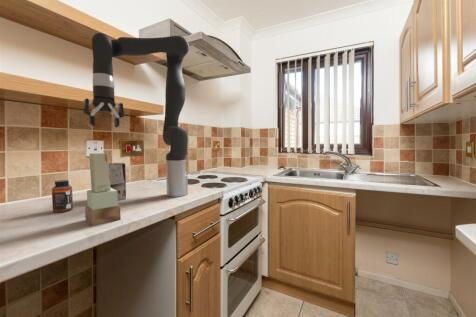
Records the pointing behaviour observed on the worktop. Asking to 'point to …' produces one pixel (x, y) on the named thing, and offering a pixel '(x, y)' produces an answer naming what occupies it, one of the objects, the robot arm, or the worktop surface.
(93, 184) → the skincare box
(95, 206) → the green block
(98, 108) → the robot arm
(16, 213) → the worktop surface
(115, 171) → the coffee box
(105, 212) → the walnut block
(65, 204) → the supplement bottle
